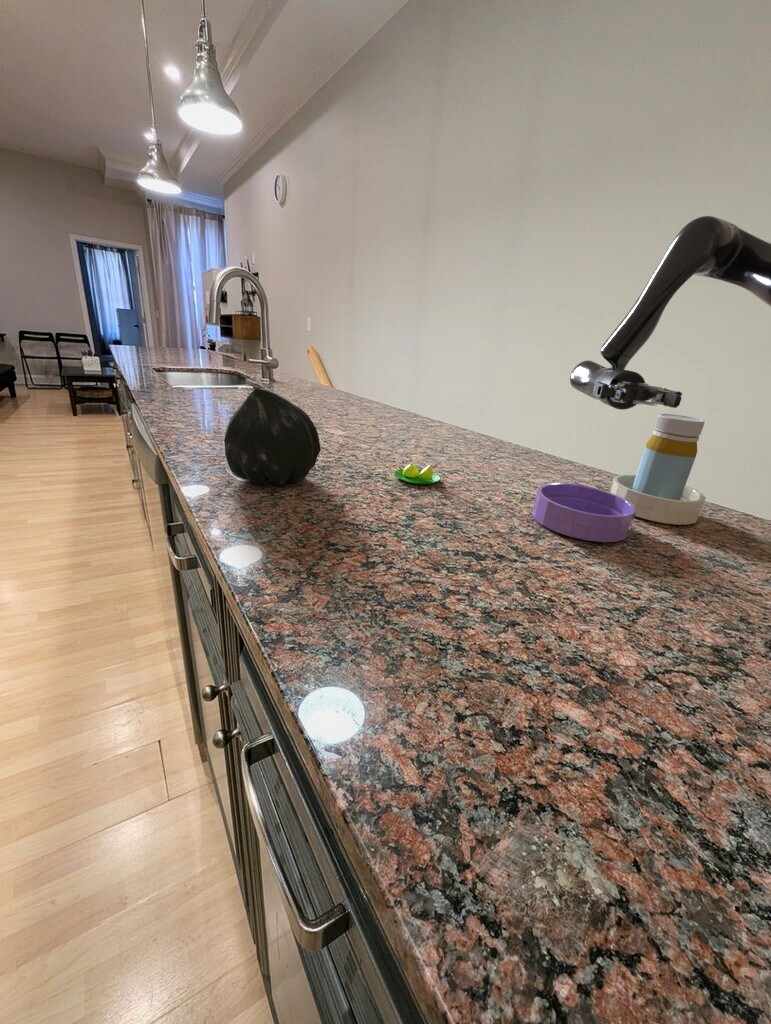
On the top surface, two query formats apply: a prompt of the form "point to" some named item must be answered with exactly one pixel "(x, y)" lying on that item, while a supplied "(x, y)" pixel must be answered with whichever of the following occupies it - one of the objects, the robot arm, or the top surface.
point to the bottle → (668, 456)
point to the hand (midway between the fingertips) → (652, 399)
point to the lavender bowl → (583, 512)
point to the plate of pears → (417, 475)
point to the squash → (270, 440)
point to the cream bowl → (660, 503)
